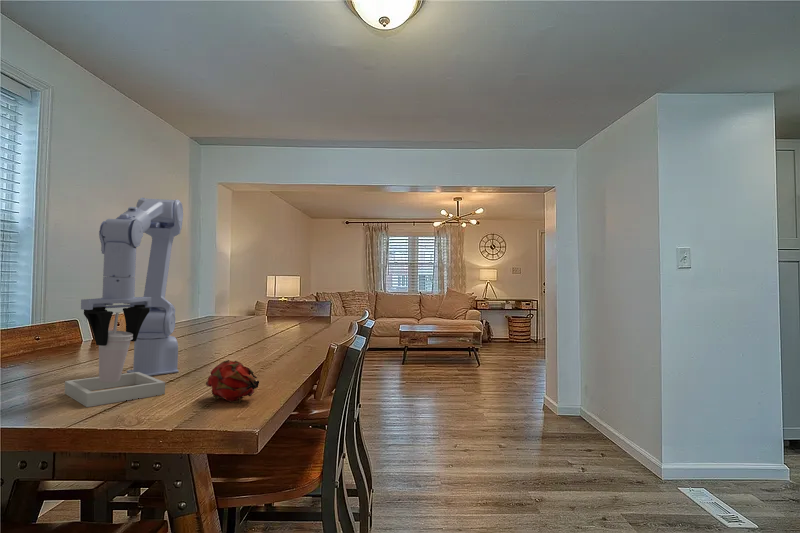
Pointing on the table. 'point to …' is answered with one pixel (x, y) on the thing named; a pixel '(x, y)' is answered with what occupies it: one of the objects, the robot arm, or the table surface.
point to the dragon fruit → (232, 381)
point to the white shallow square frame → (142, 389)
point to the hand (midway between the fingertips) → (116, 343)
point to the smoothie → (113, 354)
